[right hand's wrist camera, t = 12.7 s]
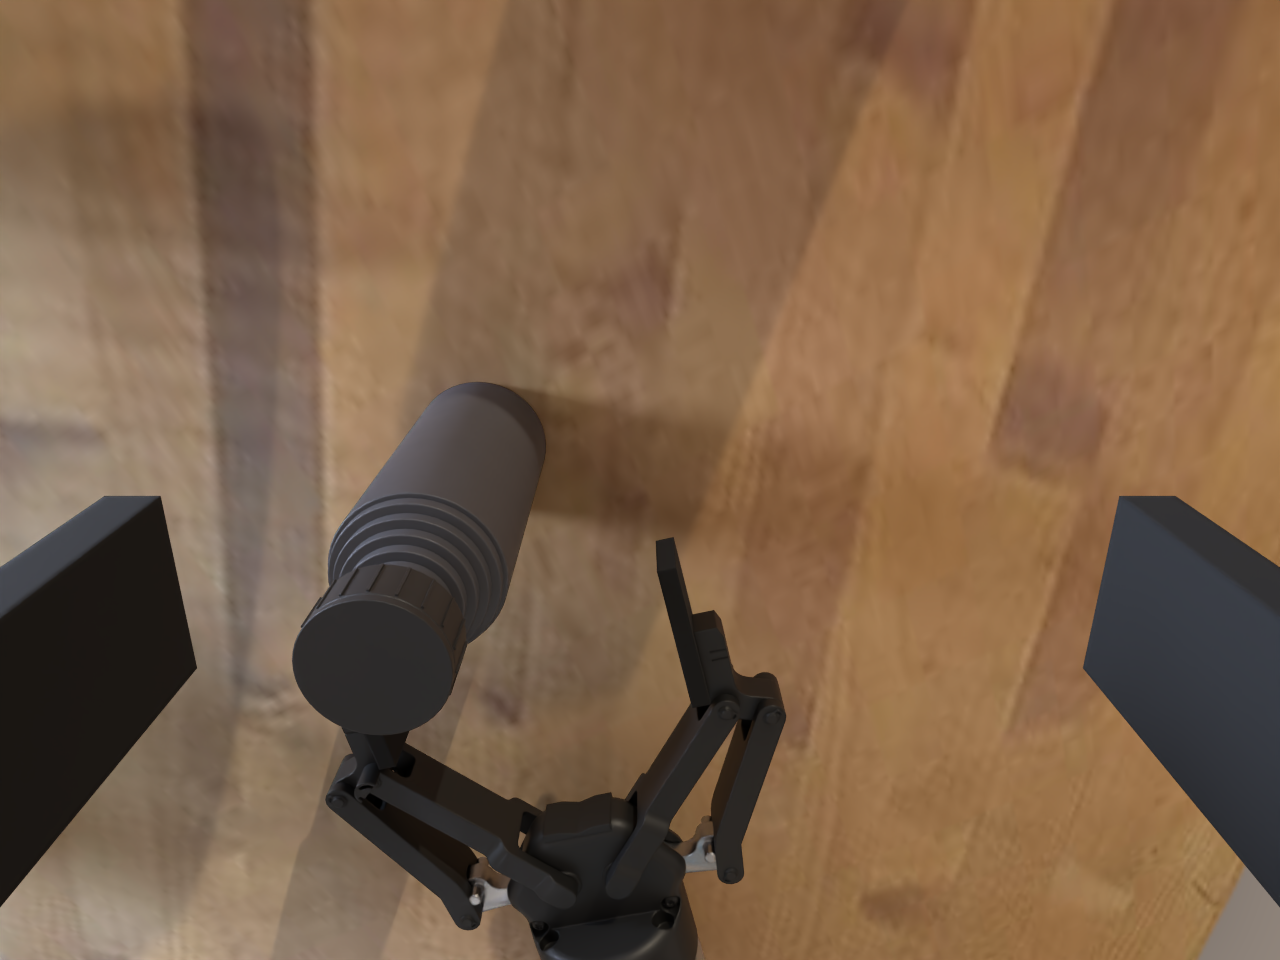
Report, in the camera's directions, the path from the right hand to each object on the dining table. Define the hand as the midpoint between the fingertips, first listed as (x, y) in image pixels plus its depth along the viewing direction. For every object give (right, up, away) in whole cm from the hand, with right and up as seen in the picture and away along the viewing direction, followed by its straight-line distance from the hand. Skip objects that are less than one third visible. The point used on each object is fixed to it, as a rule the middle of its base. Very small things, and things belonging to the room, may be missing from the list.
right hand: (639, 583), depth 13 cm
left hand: (-6, -3, +24) cm, 24 cm away
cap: (-7, -4, +11) cm, 14 cm away
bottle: (-7, +3, +28) cm, 29 cm away
